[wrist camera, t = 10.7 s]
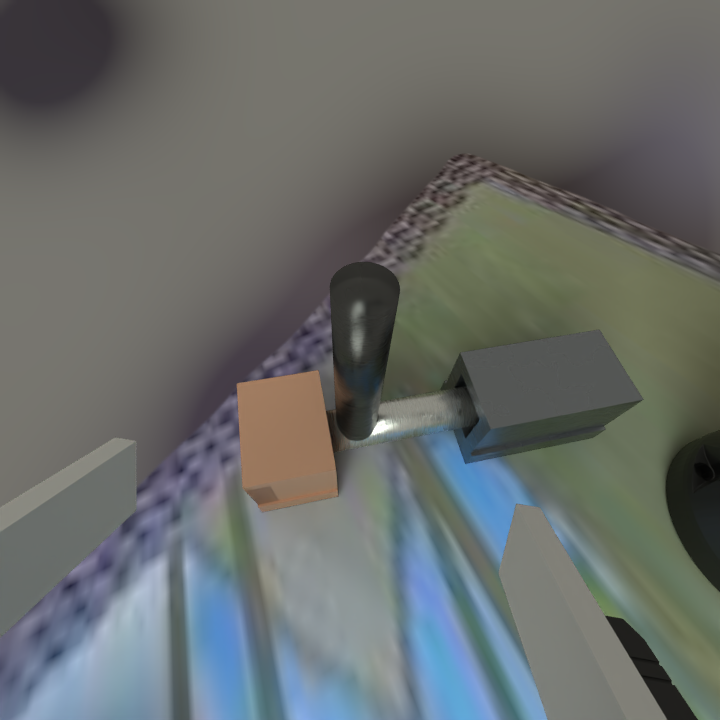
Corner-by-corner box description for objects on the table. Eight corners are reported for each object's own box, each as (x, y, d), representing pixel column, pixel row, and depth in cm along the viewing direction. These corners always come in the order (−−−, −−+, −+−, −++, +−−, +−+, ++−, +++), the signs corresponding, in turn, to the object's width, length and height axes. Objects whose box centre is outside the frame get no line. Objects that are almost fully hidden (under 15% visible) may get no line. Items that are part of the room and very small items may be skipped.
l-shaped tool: (507, 387, 35) (632, 223, 20) (523, 423, 33) (674, 275, 18) (279, 428, 32) (220, 275, 17) (283, 470, 30) (222, 342, 15)
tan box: (322, 406, 36) (318, 367, 30) (338, 496, 32) (336, 472, 26) (255, 418, 35) (236, 381, 29) (262, 512, 31) (242, 491, 25)
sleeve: (557, 370, 39) (597, 326, 32) (592, 437, 35) (645, 403, 29) (440, 391, 37) (459, 349, 31) (465, 463, 33) (492, 433, 27)
